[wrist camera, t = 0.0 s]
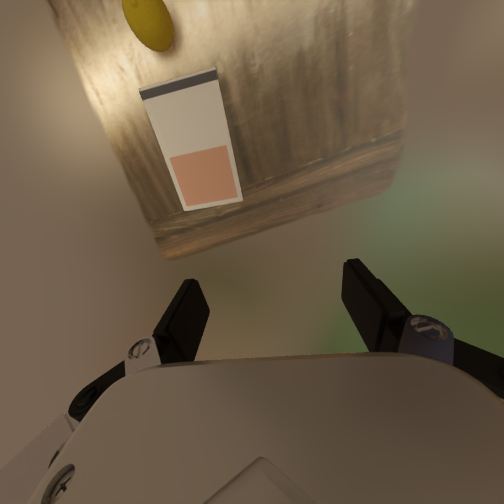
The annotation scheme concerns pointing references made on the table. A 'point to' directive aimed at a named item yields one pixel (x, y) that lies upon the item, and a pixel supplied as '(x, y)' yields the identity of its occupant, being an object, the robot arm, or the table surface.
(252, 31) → the table surface
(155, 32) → the lemon
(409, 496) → the robot arm
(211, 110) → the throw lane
